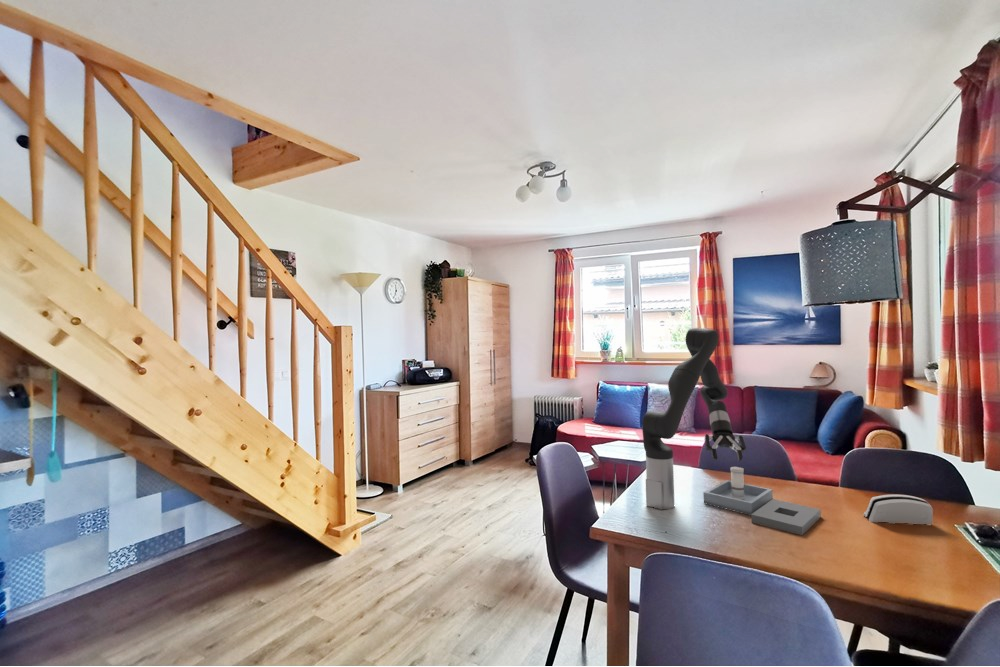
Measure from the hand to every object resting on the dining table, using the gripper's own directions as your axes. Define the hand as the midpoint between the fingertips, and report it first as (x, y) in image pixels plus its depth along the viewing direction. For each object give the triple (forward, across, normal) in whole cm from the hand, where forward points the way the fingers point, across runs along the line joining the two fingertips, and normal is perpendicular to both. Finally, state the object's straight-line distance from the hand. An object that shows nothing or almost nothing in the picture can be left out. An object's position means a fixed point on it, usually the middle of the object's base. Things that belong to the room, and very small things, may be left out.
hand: (728, 459), depth 176 cm
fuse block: (+27, +11, -11) cm, 31 cm away
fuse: (+16, 0, -1) cm, 16 cm away
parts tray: (+17, 0, 0) cm, 17 cm away
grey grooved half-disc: (+24, +44, -9) cm, 51 cm away
